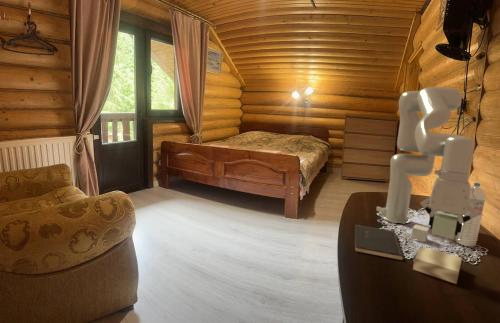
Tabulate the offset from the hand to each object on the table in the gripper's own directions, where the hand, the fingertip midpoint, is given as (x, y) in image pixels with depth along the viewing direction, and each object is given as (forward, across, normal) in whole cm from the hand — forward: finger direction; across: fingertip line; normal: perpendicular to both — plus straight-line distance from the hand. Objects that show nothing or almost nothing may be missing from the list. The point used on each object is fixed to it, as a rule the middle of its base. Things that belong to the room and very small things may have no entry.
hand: (443, 230), depth 98 cm
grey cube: (+14, -9, +23) cm, 28 cm away
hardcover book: (+14, -21, +7) cm, 27 cm away
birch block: (+14, 0, 0) cm, 14 cm away
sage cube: (+1, 0, 0) cm, 1 cm away
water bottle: (+14, +6, +32) cm, 35 cm away
